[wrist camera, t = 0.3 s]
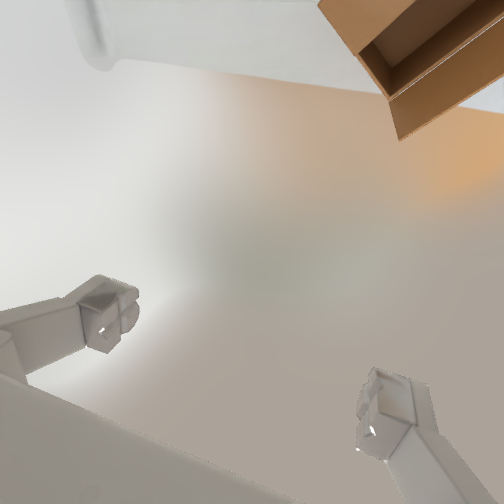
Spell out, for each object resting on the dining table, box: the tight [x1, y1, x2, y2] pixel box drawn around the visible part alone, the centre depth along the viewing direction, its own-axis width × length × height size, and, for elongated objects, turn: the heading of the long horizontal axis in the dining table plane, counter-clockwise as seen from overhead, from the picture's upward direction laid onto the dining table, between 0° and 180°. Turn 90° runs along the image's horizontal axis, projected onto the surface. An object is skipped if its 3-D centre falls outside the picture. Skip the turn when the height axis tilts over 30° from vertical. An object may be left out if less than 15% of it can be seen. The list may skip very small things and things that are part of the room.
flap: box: [389, 18, 504, 141], centre depth 33 cm, size 15×7×1 cm
